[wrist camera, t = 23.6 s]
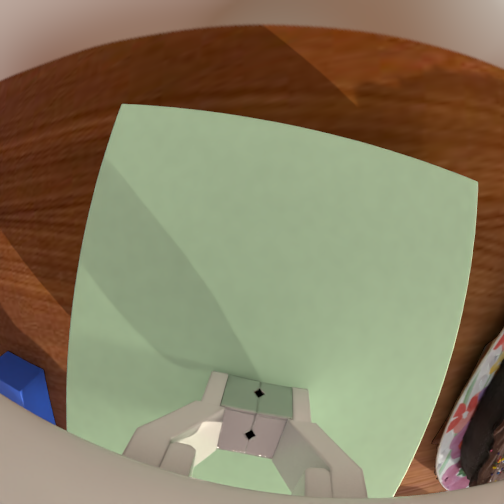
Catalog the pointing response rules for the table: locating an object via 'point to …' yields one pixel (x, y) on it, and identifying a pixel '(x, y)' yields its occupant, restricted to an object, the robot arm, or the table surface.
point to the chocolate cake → (475, 426)
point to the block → (25, 385)
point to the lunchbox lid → (267, 284)
